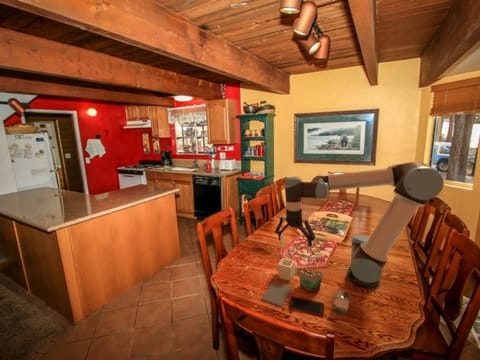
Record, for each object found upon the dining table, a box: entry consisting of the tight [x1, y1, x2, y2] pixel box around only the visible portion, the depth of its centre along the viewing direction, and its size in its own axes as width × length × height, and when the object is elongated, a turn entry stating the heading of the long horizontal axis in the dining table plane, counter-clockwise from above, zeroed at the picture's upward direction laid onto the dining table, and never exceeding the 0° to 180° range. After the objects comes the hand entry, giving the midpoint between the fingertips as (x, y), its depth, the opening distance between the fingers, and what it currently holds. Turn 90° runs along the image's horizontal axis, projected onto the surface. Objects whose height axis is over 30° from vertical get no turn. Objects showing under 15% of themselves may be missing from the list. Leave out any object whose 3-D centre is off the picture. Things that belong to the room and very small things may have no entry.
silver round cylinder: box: [331, 290, 351, 316], centre depth 102 cm, size 8×6×6 cm
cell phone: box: [288, 296, 325, 318], centre depth 104 cm, size 8×15×1 cm, turn 68°
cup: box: [277, 257, 296, 283], centre depth 126 cm, size 7×7×8 cm
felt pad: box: [260, 280, 294, 308], centre depth 114 cm, size 10×15×1 cm, turn 148°
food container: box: [297, 267, 324, 295], centre depth 113 cm, size 12×6×10 cm, turn 70°
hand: (294, 249), depth 119 cm, fingers open, 13 cm apart
